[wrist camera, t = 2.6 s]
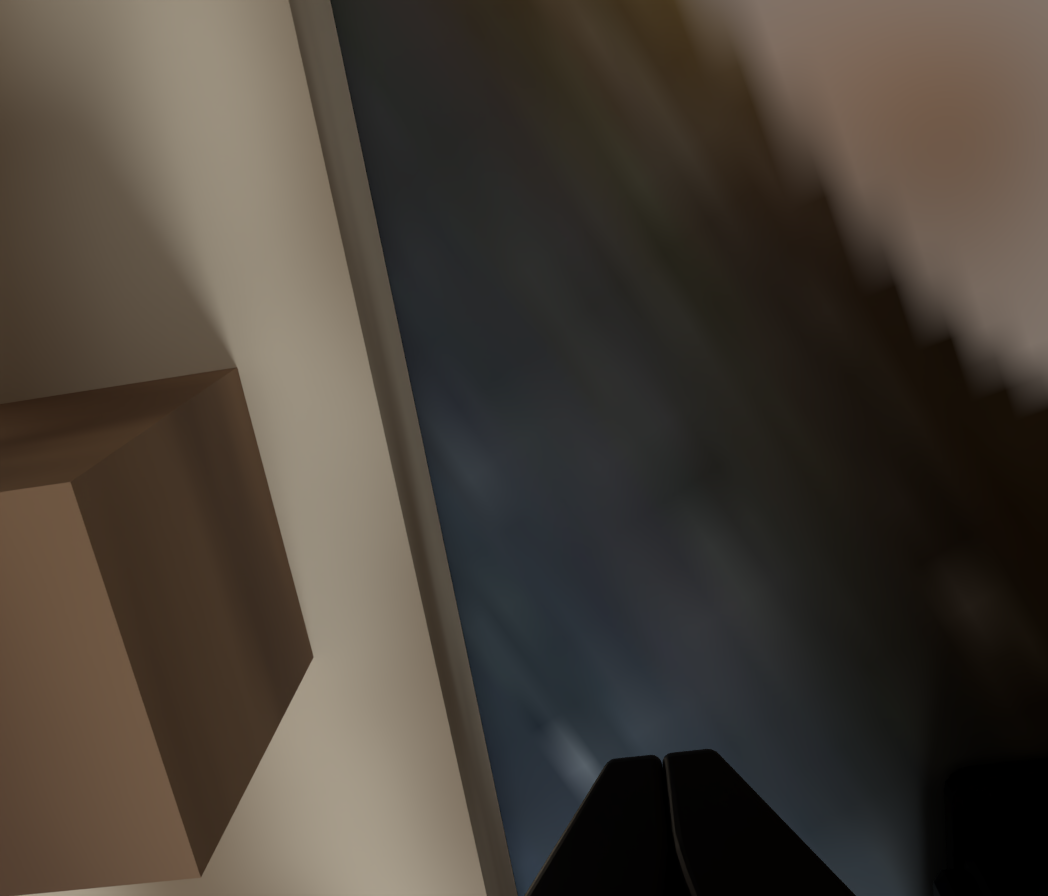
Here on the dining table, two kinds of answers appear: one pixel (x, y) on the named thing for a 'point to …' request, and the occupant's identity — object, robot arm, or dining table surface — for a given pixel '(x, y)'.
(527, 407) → the dining table surface
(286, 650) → the block
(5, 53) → the trap board
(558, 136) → the dining table surface
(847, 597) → the dining table surface
